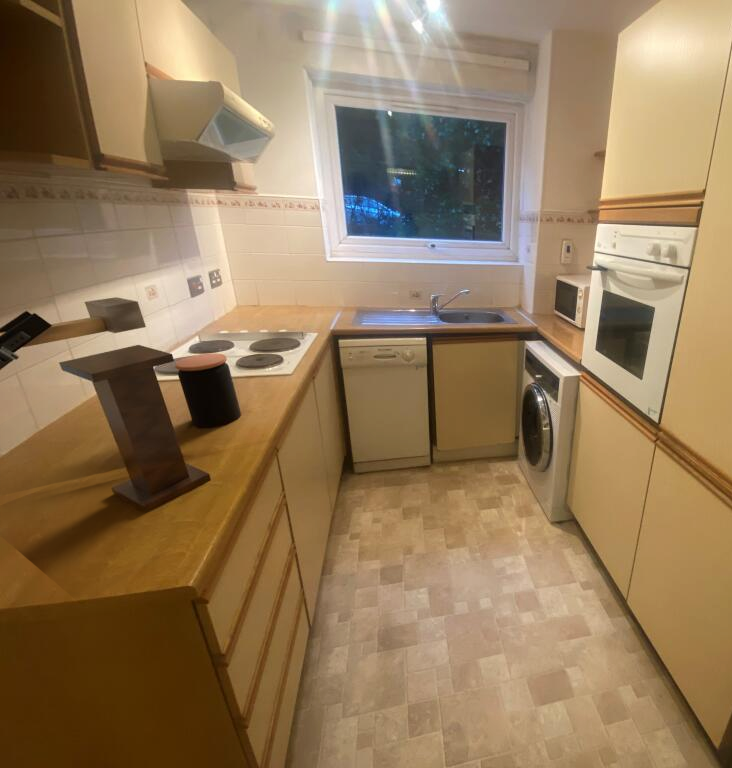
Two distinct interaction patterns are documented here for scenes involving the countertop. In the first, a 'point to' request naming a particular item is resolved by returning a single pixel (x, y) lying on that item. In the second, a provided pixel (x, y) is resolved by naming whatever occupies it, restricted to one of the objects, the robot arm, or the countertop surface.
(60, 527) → the countertop surface
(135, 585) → the countertop surface
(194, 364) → the coffee jar
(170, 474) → the stand
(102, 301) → the mallet
